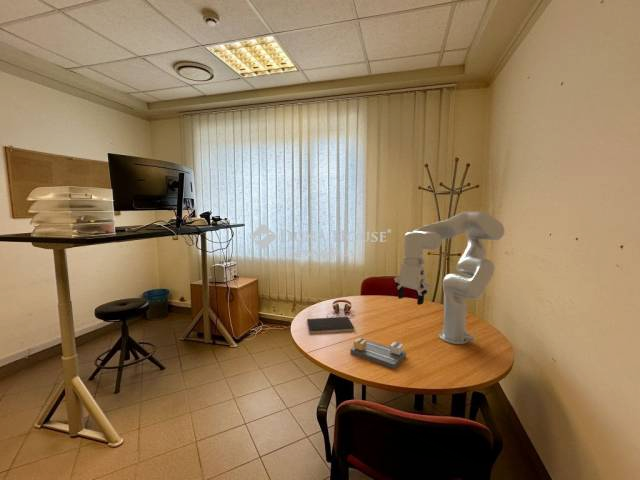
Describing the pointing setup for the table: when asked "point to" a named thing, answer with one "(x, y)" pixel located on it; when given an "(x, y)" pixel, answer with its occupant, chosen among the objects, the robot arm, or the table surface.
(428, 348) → the table surface
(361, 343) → the amber fader
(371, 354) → the mixer console
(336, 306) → the headphones
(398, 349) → the white fader
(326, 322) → the hardcover book
